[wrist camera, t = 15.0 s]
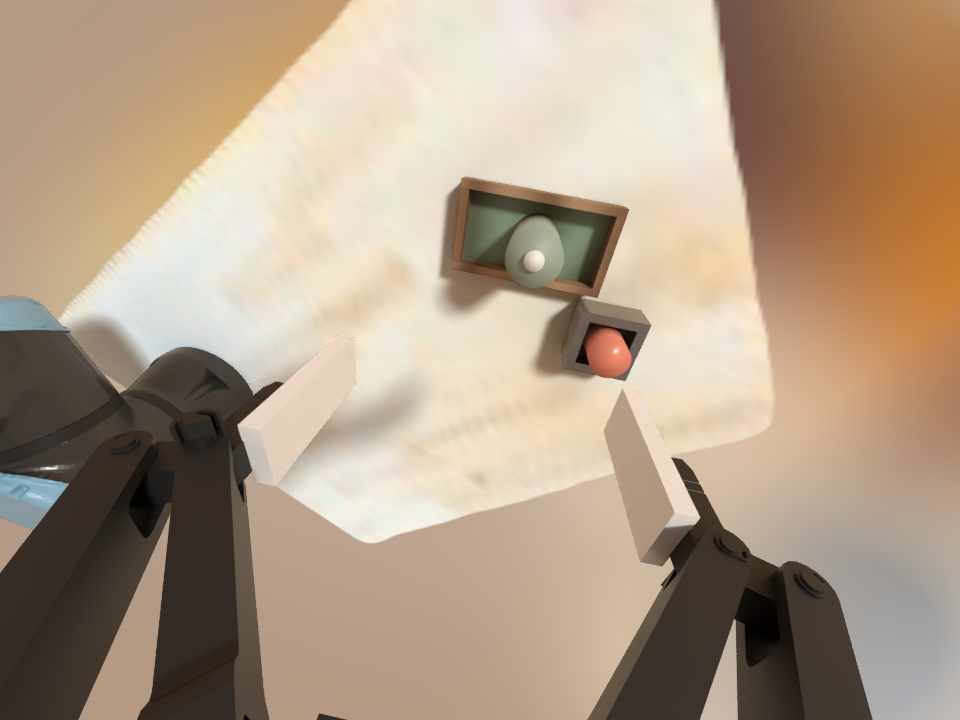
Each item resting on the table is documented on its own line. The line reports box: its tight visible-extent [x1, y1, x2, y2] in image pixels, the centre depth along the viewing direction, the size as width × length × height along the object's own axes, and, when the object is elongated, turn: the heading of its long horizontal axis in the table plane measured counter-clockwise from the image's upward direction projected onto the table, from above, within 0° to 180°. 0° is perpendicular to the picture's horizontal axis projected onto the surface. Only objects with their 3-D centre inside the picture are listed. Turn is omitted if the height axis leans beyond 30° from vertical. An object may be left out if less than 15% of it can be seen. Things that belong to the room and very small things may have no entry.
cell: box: [505, 213, 564, 288], centre depth 30 cm, size 5×5×11 cm
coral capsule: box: [583, 322, 631, 378], centre depth 36 cm, size 4×4×6 cm
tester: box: [561, 298, 651, 381], centre depth 38 cm, size 7×7×4 cm
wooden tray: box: [452, 177, 629, 298], centre depth 34 cm, size 16×9×2 cm, turn 81°
